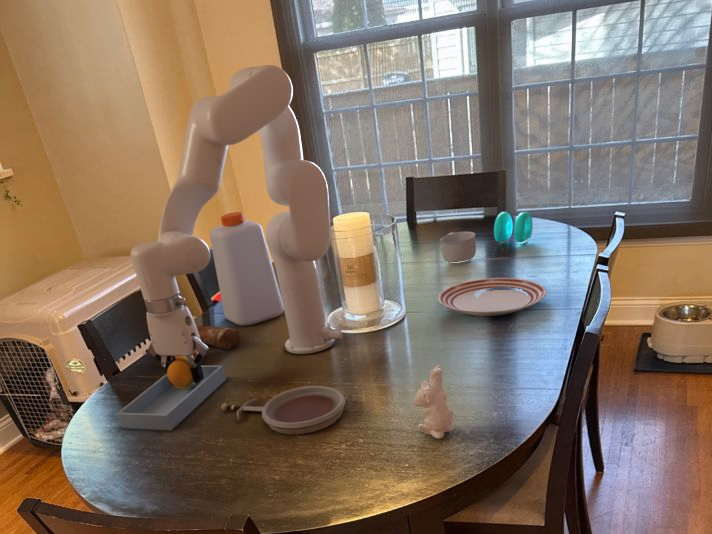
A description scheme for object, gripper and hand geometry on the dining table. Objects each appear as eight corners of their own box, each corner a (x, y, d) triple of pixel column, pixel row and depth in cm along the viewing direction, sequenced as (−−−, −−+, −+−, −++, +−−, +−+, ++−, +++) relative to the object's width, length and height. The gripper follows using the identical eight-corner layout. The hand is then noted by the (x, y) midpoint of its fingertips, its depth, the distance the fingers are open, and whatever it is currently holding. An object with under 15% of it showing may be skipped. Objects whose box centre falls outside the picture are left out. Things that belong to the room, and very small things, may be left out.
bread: (225, 354, 170) (219, 333, 167) (183, 342, 182) (177, 322, 179) (244, 345, 173) (239, 324, 170) (202, 334, 185) (196, 314, 182)
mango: (207, 374, 155) (201, 350, 152) (188, 391, 148) (181, 367, 145) (186, 373, 157) (179, 350, 154) (166, 390, 150) (158, 366, 147)
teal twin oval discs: (522, 248, 213) (522, 216, 207) (493, 248, 218) (492, 216, 212) (533, 240, 219) (534, 208, 214) (505, 239, 224) (504, 208, 219)
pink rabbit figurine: (428, 420, 126) (423, 361, 120) (462, 423, 123) (459, 363, 117) (412, 442, 120) (405, 382, 114) (447, 446, 117) (443, 384, 111)
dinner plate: (512, 280, 188) (512, 268, 186) (567, 306, 165) (568, 293, 163) (422, 302, 182) (421, 290, 181) (467, 333, 160) (466, 319, 158)
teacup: (478, 264, 205) (477, 237, 201) (443, 269, 206) (441, 242, 201) (472, 252, 217) (471, 227, 212) (439, 257, 217) (437, 231, 213)
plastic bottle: (266, 303, 201) (245, 205, 186) (290, 313, 190) (269, 210, 175) (220, 318, 195) (195, 218, 180) (242, 329, 184) (216, 224, 169)
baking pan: (226, 379, 156) (222, 365, 154) (171, 430, 137) (166, 415, 136) (181, 378, 160) (177, 365, 158) (121, 428, 142) (116, 413, 140)
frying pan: (239, 383, 147) (356, 384, 137) (242, 395, 149) (358, 397, 138) (198, 420, 134) (324, 425, 124) (202, 433, 136) (327, 438, 125)
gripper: (207, 296, 142) (227, 374, 152) (140, 298, 148) (164, 373, 158) (189, 309, 137) (211, 388, 146) (120, 310, 142) (146, 387, 152)
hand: (186, 380), depth 152 cm, fingers closed on mango, 5 cm apart
